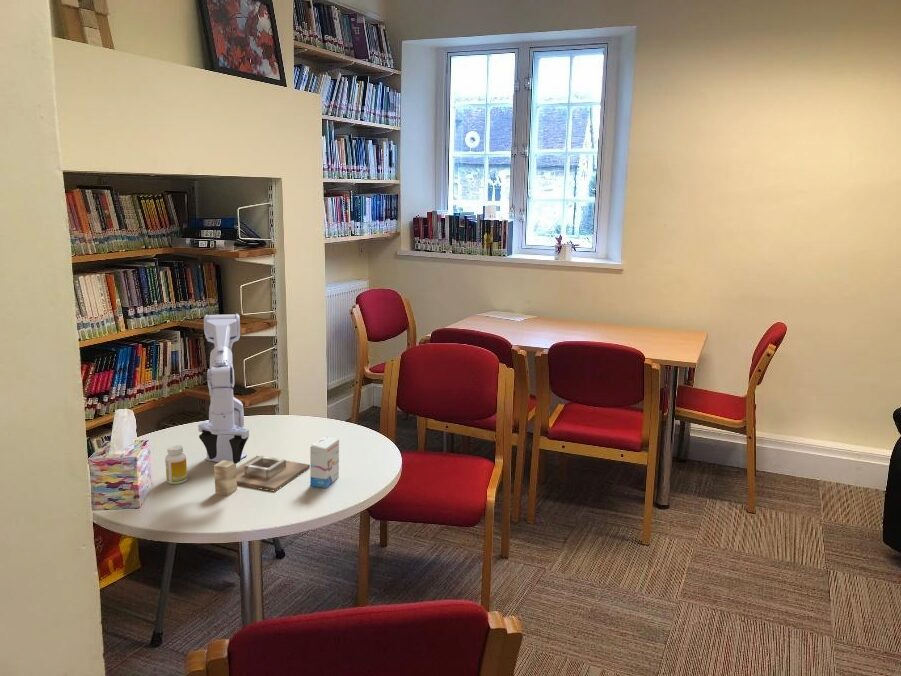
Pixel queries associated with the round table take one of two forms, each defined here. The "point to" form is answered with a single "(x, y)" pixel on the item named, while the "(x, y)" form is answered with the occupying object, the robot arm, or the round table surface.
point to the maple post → (225, 477)
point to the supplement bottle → (176, 465)
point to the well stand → (268, 472)
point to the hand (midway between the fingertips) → (224, 460)
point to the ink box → (324, 462)
